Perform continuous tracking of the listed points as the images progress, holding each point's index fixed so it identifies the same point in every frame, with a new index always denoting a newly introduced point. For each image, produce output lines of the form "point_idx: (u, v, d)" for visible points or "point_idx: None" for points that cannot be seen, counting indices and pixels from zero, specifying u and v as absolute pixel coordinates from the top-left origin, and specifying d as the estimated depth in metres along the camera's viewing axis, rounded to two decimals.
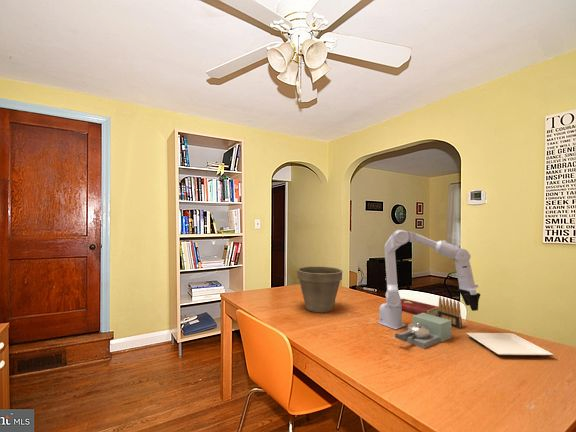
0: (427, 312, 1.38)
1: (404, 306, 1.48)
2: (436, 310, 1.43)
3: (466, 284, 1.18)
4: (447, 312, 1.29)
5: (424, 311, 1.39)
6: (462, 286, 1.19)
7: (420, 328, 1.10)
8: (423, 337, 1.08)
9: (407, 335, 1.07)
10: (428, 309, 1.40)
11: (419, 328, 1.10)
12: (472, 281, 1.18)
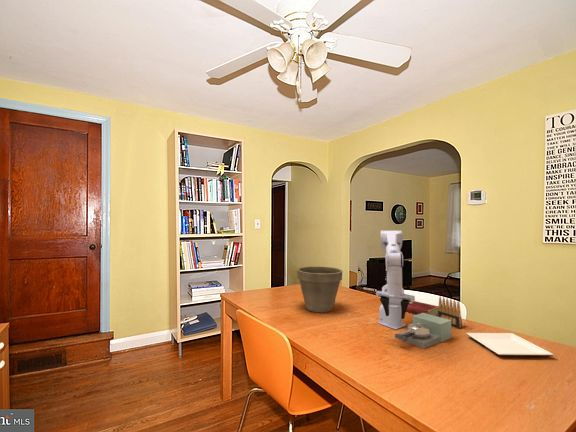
0: (428, 312, 1.38)
1: None
2: (436, 310, 1.43)
3: None
4: (447, 312, 1.29)
5: (425, 311, 1.39)
6: None
7: (420, 328, 1.10)
8: (423, 337, 1.08)
9: (407, 335, 1.07)
10: (429, 309, 1.41)
11: (419, 328, 1.10)
12: (387, 288, 1.12)
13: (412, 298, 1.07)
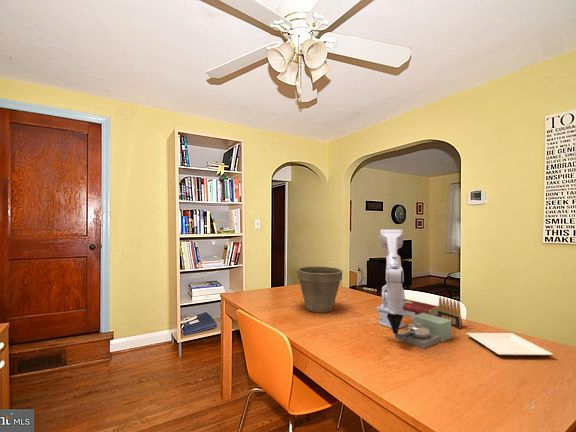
0: (429, 312, 1.38)
1: (405, 306, 1.48)
2: (437, 310, 1.44)
3: None
4: (447, 312, 1.29)
5: (426, 311, 1.39)
6: None
7: (420, 328, 1.10)
8: (423, 337, 1.08)
9: (407, 335, 1.07)
10: (429, 309, 1.41)
11: (419, 328, 1.10)
12: (388, 304, 1.11)
13: (412, 315, 1.07)
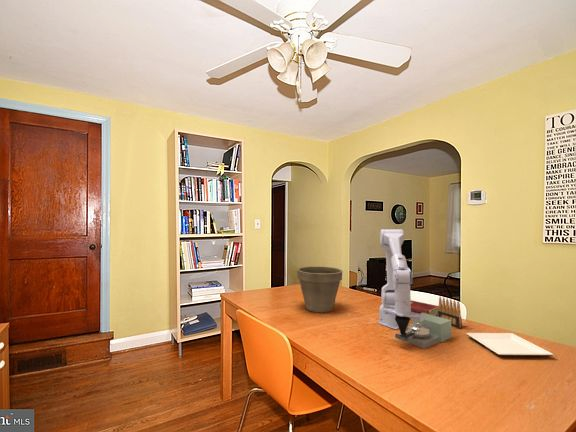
0: (429, 312, 1.38)
1: None
2: (437, 310, 1.44)
3: None
4: (447, 312, 1.29)
5: (426, 311, 1.39)
6: None
7: (420, 328, 1.10)
8: (423, 337, 1.08)
9: (407, 335, 1.06)
10: (430, 309, 1.41)
11: (419, 328, 1.10)
12: (395, 306, 1.09)
13: (421, 317, 1.04)
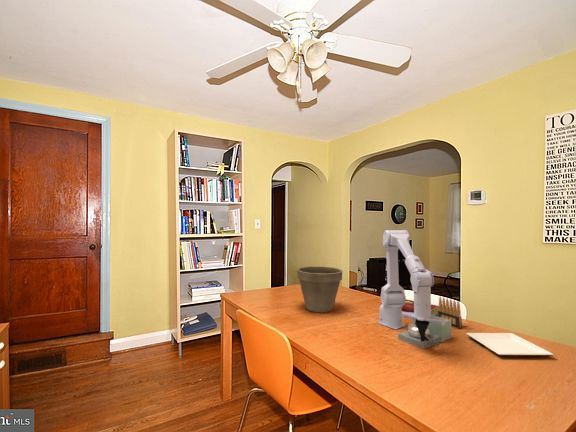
0: None
1: (406, 306, 1.48)
2: (437, 309, 1.44)
3: None
4: (447, 312, 1.29)
5: None
6: None
7: None
8: (429, 335, 1.09)
9: None
10: None
11: None
12: (415, 310, 1.04)
13: (442, 322, 0.99)
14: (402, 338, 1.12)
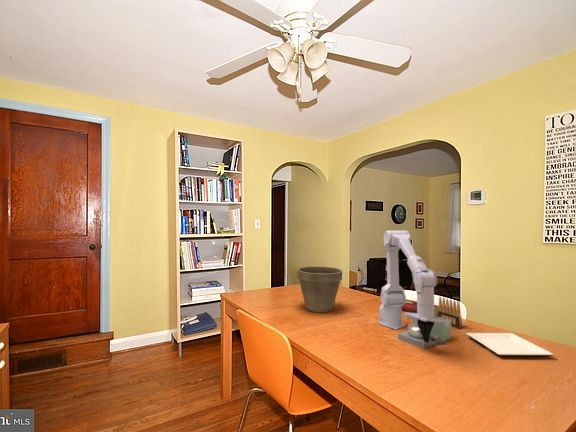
0: None
1: (406, 306, 1.48)
2: (437, 309, 1.44)
3: None
4: (447, 312, 1.29)
5: None
6: None
7: None
8: None
9: None
10: None
11: None
12: (418, 310, 1.04)
13: (446, 322, 0.99)
14: (402, 338, 1.12)
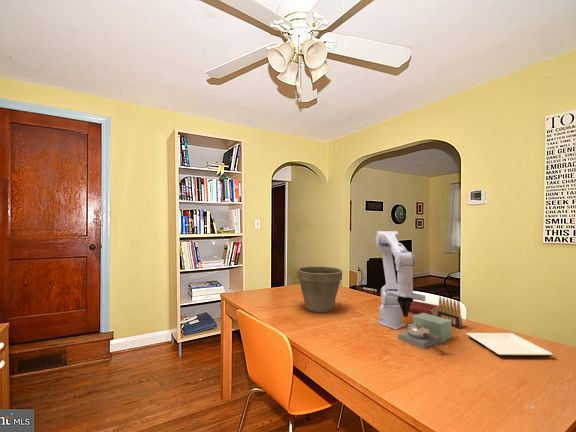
0: (431, 312, 1.38)
1: None
2: (437, 309, 1.45)
3: None
4: (447, 312, 1.29)
5: (428, 311, 1.40)
6: None
7: (423, 327, 1.11)
8: (429, 334, 1.10)
9: None
10: (431, 309, 1.41)
11: (422, 327, 1.11)
12: (398, 288, 1.12)
13: (423, 298, 1.08)
14: (402, 338, 1.12)
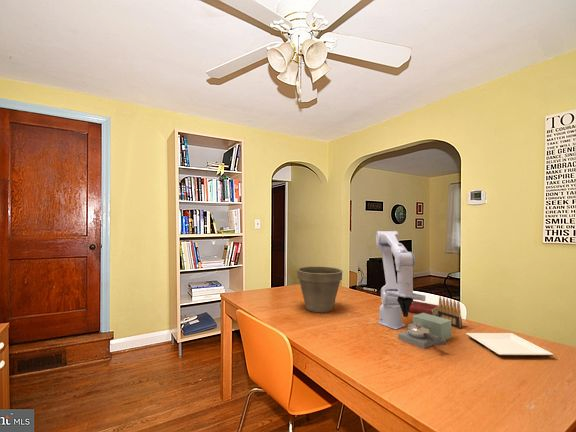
0: (432, 312, 1.39)
1: None
2: (437, 309, 1.45)
3: None
4: (447, 312, 1.29)
5: (428, 311, 1.40)
6: None
7: (423, 327, 1.11)
8: (429, 334, 1.10)
9: None
10: (431, 308, 1.41)
11: (422, 327, 1.11)
12: (398, 288, 1.12)
13: (423, 298, 1.08)
14: (402, 338, 1.12)
